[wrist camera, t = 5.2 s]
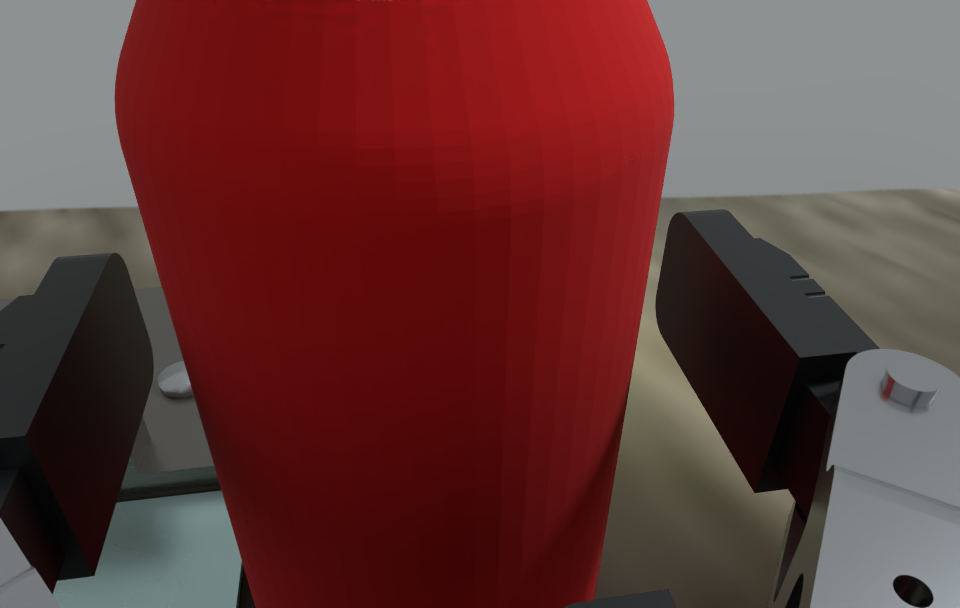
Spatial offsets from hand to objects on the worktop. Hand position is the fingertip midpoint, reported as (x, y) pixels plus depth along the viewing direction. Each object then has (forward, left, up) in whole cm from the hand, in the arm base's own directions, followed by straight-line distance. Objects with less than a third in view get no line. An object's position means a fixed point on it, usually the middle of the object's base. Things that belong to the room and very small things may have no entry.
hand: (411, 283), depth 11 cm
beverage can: (0, +1, -7) cm, 7 cm away
